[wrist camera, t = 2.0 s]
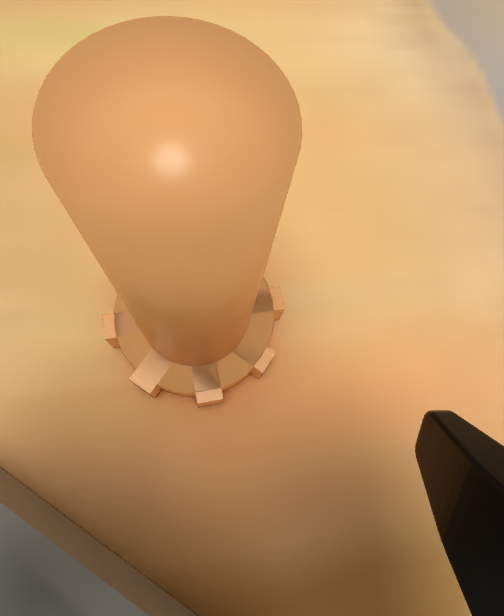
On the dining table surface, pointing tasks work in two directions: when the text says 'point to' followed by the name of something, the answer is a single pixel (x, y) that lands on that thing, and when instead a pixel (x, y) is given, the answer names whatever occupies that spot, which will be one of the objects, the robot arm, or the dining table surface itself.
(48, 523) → the grey square tray
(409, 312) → the dining table surface
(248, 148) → the peach joystick knob
